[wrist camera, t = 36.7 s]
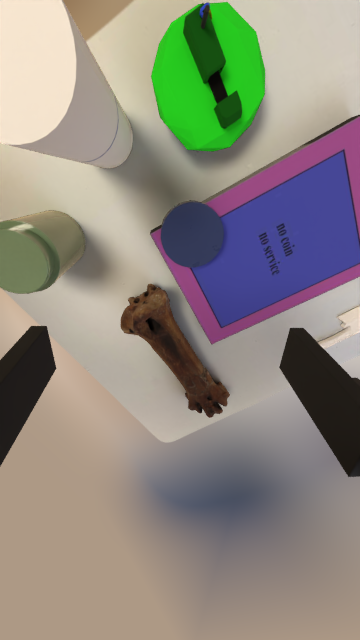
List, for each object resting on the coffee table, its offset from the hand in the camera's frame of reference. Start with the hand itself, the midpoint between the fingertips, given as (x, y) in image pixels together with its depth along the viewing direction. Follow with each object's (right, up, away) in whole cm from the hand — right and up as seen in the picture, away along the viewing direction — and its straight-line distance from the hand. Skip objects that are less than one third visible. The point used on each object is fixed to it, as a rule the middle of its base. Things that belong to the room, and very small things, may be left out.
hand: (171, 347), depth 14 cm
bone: (+1, -4, +35) cm, 35 cm away
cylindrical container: (-9, +25, +19) cm, 33 cm away
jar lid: (+2, +13, +20) cm, 24 cm away
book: (+14, +13, +27) cm, 33 cm away
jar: (-18, +13, +24) cm, 33 cm away
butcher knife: (+32, +2, +34) cm, 47 cm away
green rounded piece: (+3, +29, +18) cm, 34 cm away
